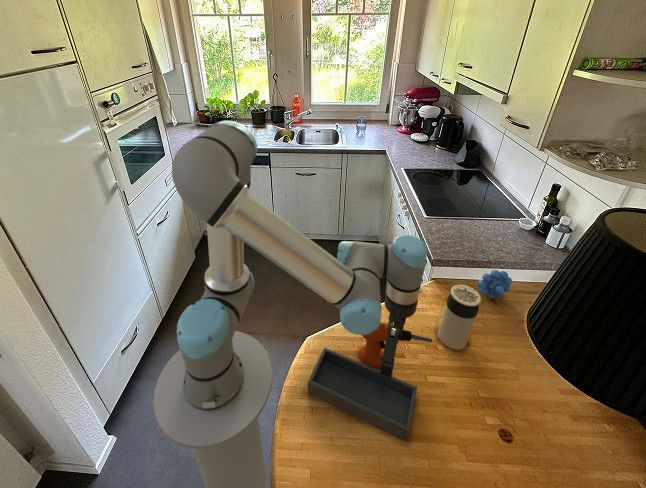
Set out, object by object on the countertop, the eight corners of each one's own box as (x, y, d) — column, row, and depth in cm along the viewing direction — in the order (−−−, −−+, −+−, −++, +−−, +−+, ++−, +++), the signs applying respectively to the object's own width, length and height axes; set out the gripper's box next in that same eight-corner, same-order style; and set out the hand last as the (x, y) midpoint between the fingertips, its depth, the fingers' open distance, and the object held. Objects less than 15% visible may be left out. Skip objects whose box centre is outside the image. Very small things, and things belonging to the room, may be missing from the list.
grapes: (480, 308, 106) (490, 281, 100) (469, 292, 112) (478, 266, 106) (514, 305, 107) (525, 278, 101) (501, 290, 112) (511, 264, 107)
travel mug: (464, 355, 91) (480, 310, 83) (434, 342, 95) (447, 298, 86) (468, 334, 97) (483, 290, 89) (440, 322, 101) (452, 279, 92)
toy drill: (430, 380, 83) (433, 340, 77) (357, 364, 90) (354, 326, 83) (430, 363, 87) (432, 324, 81) (360, 349, 94) (358, 311, 87)
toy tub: (307, 392, 82) (307, 382, 80) (324, 357, 91) (324, 347, 88) (406, 442, 73) (409, 431, 70) (414, 397, 81) (417, 387, 79)
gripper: (408, 342, 66) (396, 402, 75) (425, 266, 85) (414, 322, 95) (372, 329, 69) (365, 388, 78) (397, 259, 88) (388, 313, 98)
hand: (392, 352), depth 87 cm, fingers open, 13 cm apart
